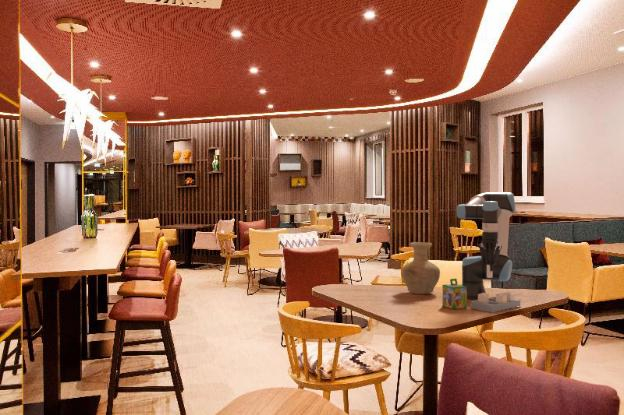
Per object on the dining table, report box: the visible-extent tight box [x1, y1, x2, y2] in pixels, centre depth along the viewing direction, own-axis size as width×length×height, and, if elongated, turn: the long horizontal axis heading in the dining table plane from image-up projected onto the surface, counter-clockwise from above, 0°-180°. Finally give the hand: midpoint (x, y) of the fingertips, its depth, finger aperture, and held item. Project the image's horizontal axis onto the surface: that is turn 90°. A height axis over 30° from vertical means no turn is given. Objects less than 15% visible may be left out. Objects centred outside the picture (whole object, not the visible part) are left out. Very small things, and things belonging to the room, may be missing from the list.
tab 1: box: [477, 292, 490, 304], centre depth 274 cm, size 4×4×6 cm
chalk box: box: [441, 278, 468, 310], centre depth 276 cm, size 9×9×15 cm
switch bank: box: [470, 296, 521, 313], centre depth 276 cm, size 24×13×4 cm, turn 126°
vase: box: [401, 241, 441, 295], centre depth 315 cm, size 22×22×30 cm
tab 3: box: [503, 290, 516, 301], centre depth 277 cm, size 4×4×6 cm
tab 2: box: [495, 292, 507, 303], centre depth 273 cm, size 4×4×6 cm
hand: (489, 277), depth 271 cm, fingers closed
